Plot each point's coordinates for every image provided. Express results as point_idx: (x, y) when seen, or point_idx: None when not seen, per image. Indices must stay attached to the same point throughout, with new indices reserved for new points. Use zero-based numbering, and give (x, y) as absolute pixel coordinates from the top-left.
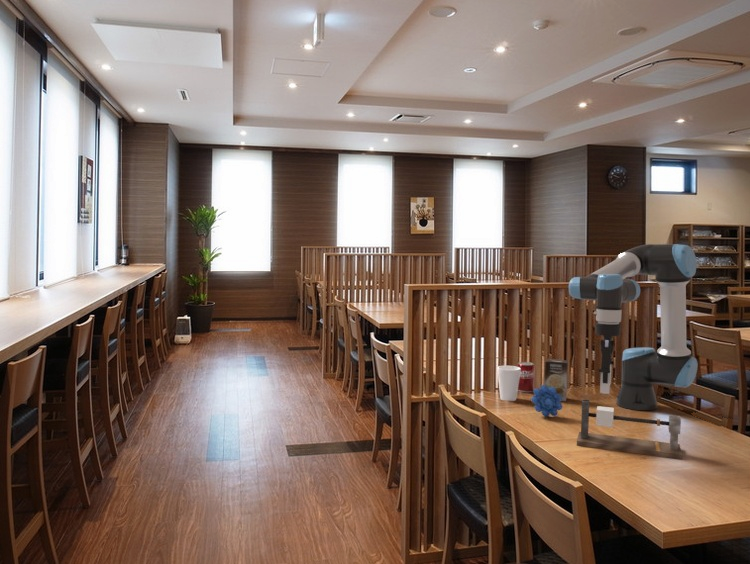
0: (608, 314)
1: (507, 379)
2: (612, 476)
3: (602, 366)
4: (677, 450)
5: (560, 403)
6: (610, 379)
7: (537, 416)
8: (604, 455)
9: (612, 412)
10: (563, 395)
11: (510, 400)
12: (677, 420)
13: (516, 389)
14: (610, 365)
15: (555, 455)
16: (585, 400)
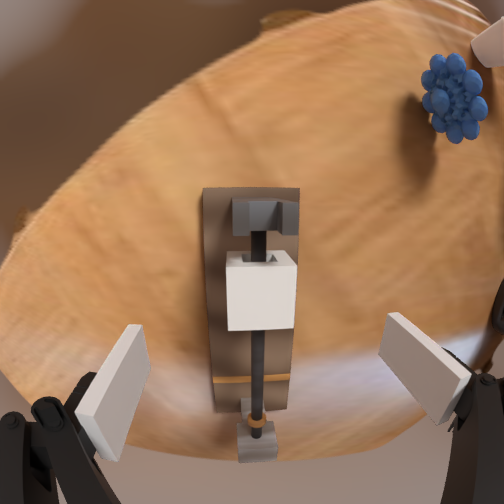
0: None
1: (499, 32)
2: (48, 284)
3: (2, 444)
4: (239, 407)
5: (459, 137)
6: (392, 368)
7: (416, 85)
8: (154, 265)
9: (228, 325)
10: None
11: (475, 53)
12: (238, 457)
13: (497, 60)
14: (438, 420)
15: (102, 151)
16: (281, 216)
